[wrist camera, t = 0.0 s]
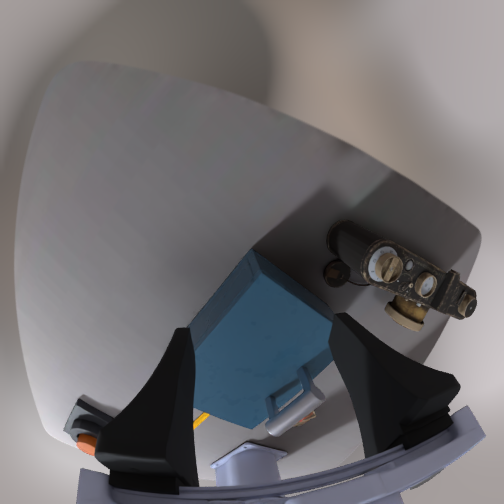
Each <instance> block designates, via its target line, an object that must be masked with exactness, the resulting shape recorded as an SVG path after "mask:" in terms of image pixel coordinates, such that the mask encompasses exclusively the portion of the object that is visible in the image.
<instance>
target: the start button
mask: <svg viewBox="0 0 504 504" xmlns="http://www.w3.org/2000/svg"><path fill="white" fill-rule="evenodd" d="M96 441H97V439H96V438H94V437H92V436H90V435H87V434H83V433H82V434H80V435H79V438H78V441H77V447H78V448H79V449H80V450H82V451H83V452H85V453H87V454H89V455H92V456H95V455H94V453H95V447H96Z"/></svg>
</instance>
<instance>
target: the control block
mask: <svg viewBox="0 0 504 504" xmlns="http://www.w3.org/2000/svg"><path fill="white" fill-rule="evenodd" d="M113 419H114V418H112V417H110V416H108V415H106V414H105V413H103V412H101V411H99V410H97V409H96V408H94V407H92V406H90V405H89V404H87V403H85V402H84V401H82V400H80V399H78V400H77V402H76V404H75V406H74V408H73V410H72V412H71V414H70V416H69V418H68V420H67V423H66V425H65V427H64V430H63V431H65V432H66V433H68V434H70V436H71V437H72V439H73V440H74V441H75V442H76V443H77V441H78V438H79V435H80V434H82V433H83V434H87V435H90V436H92V437H94V438H96V439H97V437H98V435H99V432H100V429H101V428H103V427H104V426H105V425H106V424H108V423H109V422H110V421H111V420H113Z"/></svg>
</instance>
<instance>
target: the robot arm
mask: <svg viewBox="0 0 504 504" xmlns="http://www.w3.org/2000/svg"><path fill="white" fill-rule="evenodd" d="M328 343H329V347H330V350H331V353H332V356H333V359H334V361H335V364H336V366H337V368H338V370H339V372H340V374H341V377H342V379H343V381H344V383H345V385H346V387H347V389H348V392H349V394H350V397H351V399H352V403H353V406H354V409H355V412H356V416H357V420H358V423H359V428H360V432H361V436H362V441H363V447H364V453H365V459H363V460H360V461H357V462H354V463H351V464H347V465H344V466H341V467H337V468H334V469H330V470H326V471H322V472H318V473H314V474H310V475H305V476H301V477H296V478H291V479H285V480H281V478H280V474H279V470H278V466H277V462H276V461H278V460H279V459H281V458H283V457H284V456H286V455H287V452H285V451H280V450H276V449H272V448H268V447H264V446H260V445H256V444H253V443H249V442H247V443H244V444H243V445H241V446H240V447H238V448H237V449H235V450H234V451H232V452H231V453H229V454H228V455H226V456H224V457H223V458H221V459H220V460H218V461H216V462H215V463H213V464H211V465H210V466H211V468H214V469H215V472H216V485H217V487H199V481H198V473H197V465H196V456H195V445H194V430H193V405H194V392H195V379H196V361H195V352H194V347H193V342H192V337H191V332H190V327H189V328H177V329H176V330H175V332H174V334H173V337H172V339H171V341H170V343H169V345H168V347H167V350H166V351H165V353H164V355H163V357H162V359H161V361H160V363H159V364H158V366H157V367H156V369H155V371H154V372H153V374H152V376H151V377H150V378H149V380H148V381H147V383H146V384H145V385H144V387H143V388H142V389H141V391H140V392H139V393H138V394H137V395H136V397H135V398H134V399H133V400H132V401H131V402H130V403H129V404H128V405H127V406H126V407H125V408H124V409H123V410H122V411H121V412H120V413H119V414H118V415H117V416H116V417H115V418H114V419H113V420H111V421H110V422H109V423H108V424H106V425H105V426H104V427H103V428H101V429H100V432H99V435H98V437H97V441H96V447H95V453H94V455H95V458H96V459H97V460H98V461H99V462H100V463H102V464H103V465H104V466H106V467H107V468H108V469H110V475H107V474H104V473H101V472H96V471H91V470H88V469H84V468H82V469H80V476H79V484H78V492H77V502H76V504H404V503H403V500H402V498H401V495H400V493H401V492H403V491H404V490H407V489H408V488H410V487H412V486H414V485H416V484H418V483H420V482H422V481H423V480H425V479H427V478H429V477H430V476H432V475H434V474H435V473H437V472H439V471H440V470H442V469H443V468H445V467H446V466H448V465H450V463H453V462H454V461H455V460H457V459H458V458H460V457H461V456H462V455H464V454H465V453H467V451H469V450H470V449H472V448H473V447H474V446H476V445H477V444H478V443H479V442H480V441H482V440H483V439H484V438H485V437H486V435H485V433H484V432H483V430H482V428H481V426H480V425H479V423H478V421H477V420H476V418H475V416H474V415H473V413H472V411H471V410H470V408H469V407H468V406H465V407H463V408H462V409H460V410H458V411H457V412H455V413H454V414H453V415H451V416H449V414H448V412H449V411H450V408H449V407H448V405H449V403H450V402H451V401H452V400H453V399H454V398H455V396H456V395H457V394H458V392H459V390H460V384H459V383H458V381H457V380H456V378H455V377H454V375H452V374H449V373H446V372H442V371H438V370H435V369H432V368H430V367H427V366H424V365H422V364H420V363H418V362H416V361H413V360H411V359H409V358H407V357H406V356H404V355H402V354H400V353H399V352H397V351H395V350H394V349H392V348H391V347H389V346H388V345H386V344H385V343H383V342H382V341H381V340H379V339H378V338H377V337H375V336H374V335H373V334H372V333H370V332H369V331H368V330H367V329H365V328H364V327H363V326H362V325H360V324H359V323H358V322H357V321H356V320H354V319H353V318H352V317H351V316H350V315H348V314H347V313H346V312H344V313H337V314H335V315H334V320H333V324H332V328H331V332H330V336H329V340H328ZM365 473H366V474H365ZM362 474H364V476H362V477H359V478H356V479H353V480H350V481H347V482H344V483H340V484H337V485H334V486H331V487H327V488H323V489H319V490H315V491H311V492H307V493H303V494H300V495H297V496H292V497H285V495H287V494H292V493H297V492H302V491H307V490H311V489H315V488H319V487H323V486H327V485H331V484H334V483H338V482H341V481H344V480H347V479H350V478H353V477H356V476H359V475H362Z"/></svg>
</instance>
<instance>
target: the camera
mask: <svg viewBox="0 0 504 504" xmlns="http://www.w3.org/2000/svg"><path fill="white" fill-rule="evenodd" d="M327 246H328V249H329V250H330V252H331V253H332V254H334V255H335V256H337V257H338V258H339V259H341V260H342V261H333V262H331V263H330V264H329V265H328V266H327V267H326V269H325V273H324V277H325V280H326V283H327V284H328V285H329V286H331V287H341V286H343V285H344V284H345V283H346V282H347V281H348V282H350V283H352V284H355V285H359V286H368V285H373V286H376V287H378V288H381V289H383V290H386V291H388V292H391V293H394V294H396V296H395V297H394V299H393V301H392V302H388V303H387V305H386V307H385V312H386V313H387V314H388V315H389V316H390V317H391V318H392V319H393V320H394V321H395V322H397V323H398V324H400V325H401V326H402V325H403V327H405V328H408V329H411V330H414V331H420V330H421V328H422V327H423V325H424V322H423V319H424V317H425V315H426V313H427V312H428V310H429V308H432V309H434V310H436V311H438V312H440V313H443V314H447V315H449V316H452V317H454V318H457V319H459V320H461V319H464V318H465V317H466V318H467V317H469V316H471V315H472V313H473V312H474V310H475V308H476V305H477V300H476V292H475V290H473V289H472V288H470V287H469V286H467V285H466V284H464V283H463V282H461V281H459V279H460V274H459V273H458V272H456V271H454V270H452V269H451V271H448V273H446V272H445V271H443V270H442V269H440V268H438V267H437V266H435V265H433V264H431V263H430V262H428V261H426V260H425V259H423V258H421V257H419V256H418V255H416V254H414V253H412V252H411V251H409V250H407V249H405V248H403V247H402V246H400V245H398V244H396V243H394V242H393V241H391V240H388V239H385V238H383V237H381V236H379V235H377V234H375V233H373V232H371V231H369V230H367V229H365V228H363V227H361V226H359V225H357V224H355V223H353V222H351V221H349V220H341V221H338V222H337V223H335V224H334V225H333V226H332V227H331V229H330V231H329V233H328V236H327ZM350 268H352V269H353V270H354V271H355V272H357V273H358V274H359V275H360V276H361V277H363V278H364V280H365V281H366V282H368V283H369V284H357V283H354V282H351V281H349V280H348V279H349V277H350V272H351V271H350Z"/></svg>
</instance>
